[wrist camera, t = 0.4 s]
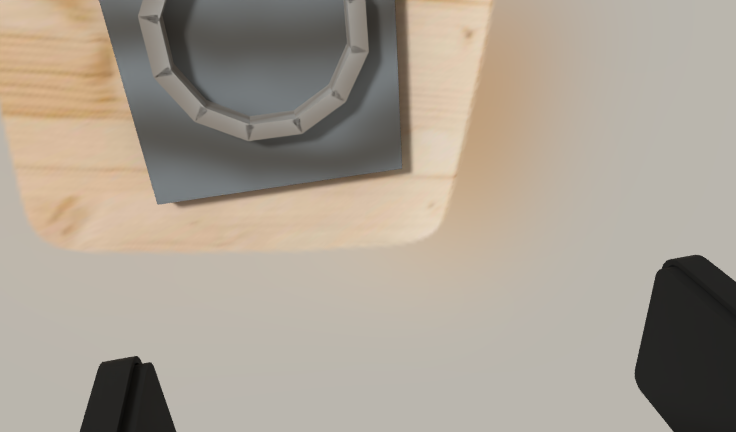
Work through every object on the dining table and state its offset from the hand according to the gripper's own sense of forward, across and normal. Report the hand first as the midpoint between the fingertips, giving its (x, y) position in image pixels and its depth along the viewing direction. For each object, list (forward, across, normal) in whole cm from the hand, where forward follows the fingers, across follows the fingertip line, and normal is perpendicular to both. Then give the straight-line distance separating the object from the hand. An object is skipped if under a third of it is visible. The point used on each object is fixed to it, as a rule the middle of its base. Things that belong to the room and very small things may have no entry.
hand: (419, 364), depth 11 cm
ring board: (+28, +2, -1) cm, 28 cm away
